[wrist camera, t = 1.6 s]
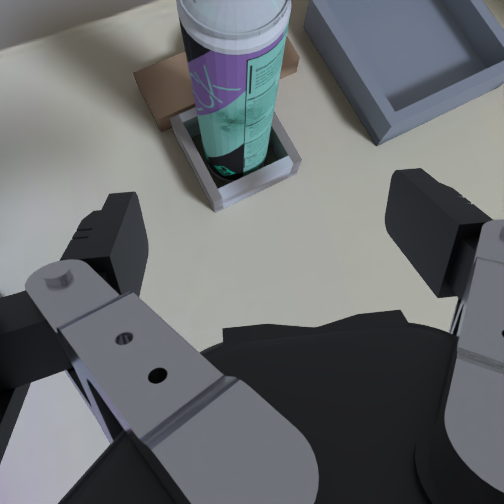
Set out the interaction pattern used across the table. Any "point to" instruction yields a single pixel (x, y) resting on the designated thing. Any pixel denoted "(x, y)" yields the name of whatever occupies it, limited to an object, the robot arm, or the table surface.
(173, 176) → the table surface
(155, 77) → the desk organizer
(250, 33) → the spray can
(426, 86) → the tray
